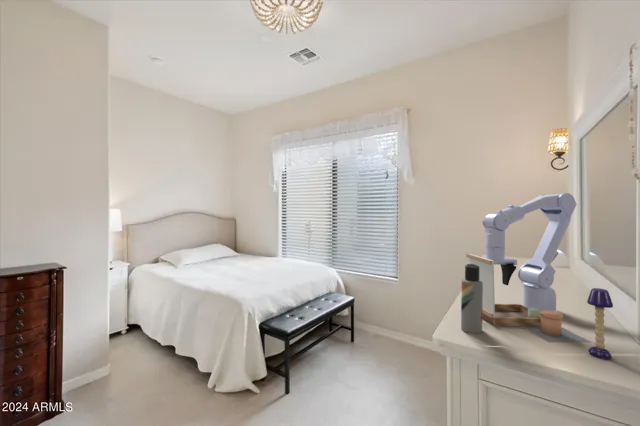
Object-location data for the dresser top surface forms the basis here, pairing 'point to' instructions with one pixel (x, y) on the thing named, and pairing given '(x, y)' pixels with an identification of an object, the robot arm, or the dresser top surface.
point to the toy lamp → (599, 320)
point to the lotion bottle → (471, 300)
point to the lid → (485, 282)
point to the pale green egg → (534, 313)
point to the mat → (565, 336)
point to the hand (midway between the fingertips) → (494, 284)
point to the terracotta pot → (551, 322)
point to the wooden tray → (512, 316)
